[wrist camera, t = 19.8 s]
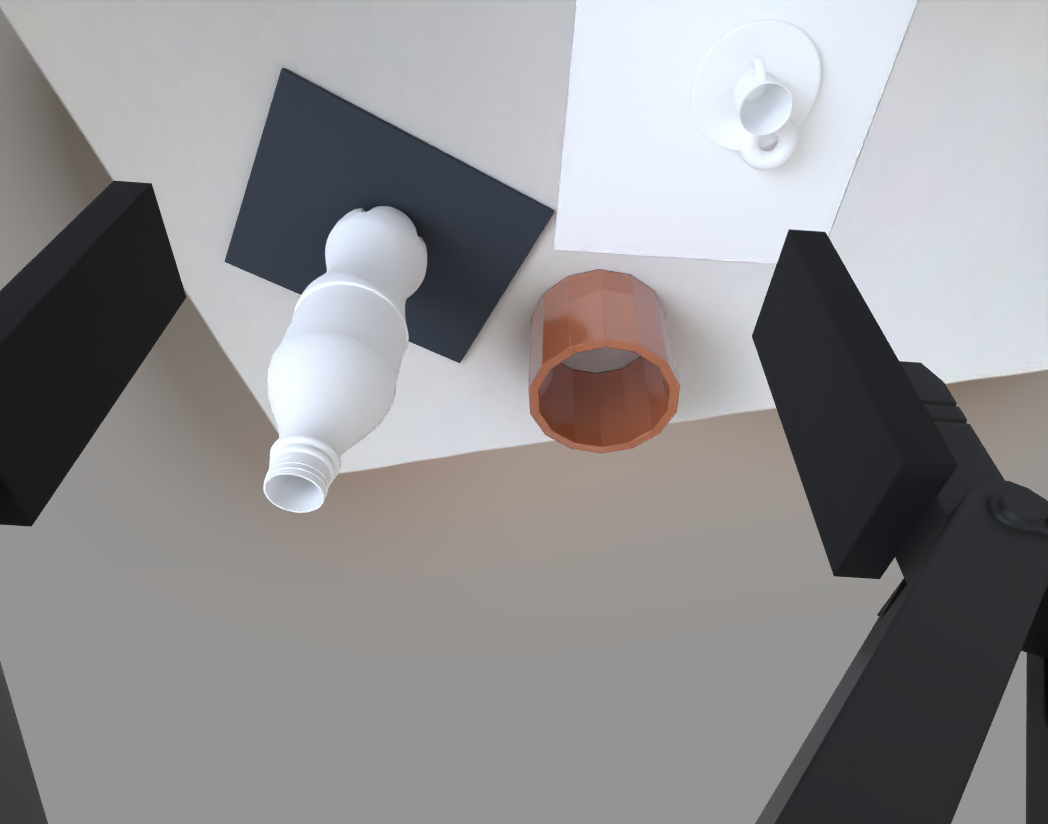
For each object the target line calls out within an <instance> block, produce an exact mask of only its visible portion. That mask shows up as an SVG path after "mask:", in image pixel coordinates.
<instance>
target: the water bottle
mask: <svg viewBox="0 0 1048 824" xmlns="http://www.w3.org/2000/svg"><path fill="white" fill-rule="evenodd" d="M325 259H326V267H327V272H326V273H325V274H324V275H322V276H320V277H319V278H317V279H316V280H314V281H313V282H312V283H310V284H309V285H308V287H307V288H306V289H305V290H304V292H303V293H302V295H301V296H300V298H299V300H298V302H297V305H296V307H295V310H294V316H293V319H292V321H291V323H290V325H289V327H288V329H287V331H286V334H285V336H284V338H283V340H282V342H281V344H280V345H279V347H278V348H277V349H276V351H275V352H274V354H273V356H272V359H271V362H270V365H269V371H268V380H267V385H268V394H269V400H270V404H271V407H272V411H273V414H274V417H275V420H276V423H277V426H278V429H279V439H278V440H277V441H276V442H275V443H274V444H273V446H272V448H271V451H270V462H269V464H270V468H269V471H268V473H267V475H266V478H265V481H264V490H263V491H264V493H265V495H266V497H267V499H269V500H270V501H271V502H272V503H273V504H274V505H276V506H278V507H280V508H282V509H284V510H287V511H292V512H296V513H300V512H301V513H302V512H310V511H313V510H316V509H318V508H319V507H320V506H322V505H323V501H324V499H325V497H326V495H327V492H328V488H329V485H330V484H331V483H332V481H333V480H334V478H335V477H336V476H337V475H338V473H339V471H340V468H341V460H340V457H341V455H342V454H343V453H344V452H345V451H346V450H348V449H349V448H351V447H352V446H354V445H355V444H356V443H358V442H359V441H361V440H362V439H363V438H364V437H366V436H367V435H368V434H370V433H371V432H372V431H373V430H374V429H375V428H376V427H377V426H378V425H379V424H380V423H381V422H382V421H383V419H384V418H385V417H386V415H387V413H388V412H389V410H390V408H391V405H392V403H393V401H394V397H395V394H396V381H397V377H398V373H399V369H400V365H401V361H402V357H403V355H404V353H405V351H406V349H407V346H408V342H409V335H408V330H407V325H406V319H405V302H406V299H407V298H408V297H410V296H411V295H412V294H413V293H414V292H415V291H416V290H417V289H418V288H419V286H420V285H421V283H422V282H423V279H424V277H425V274H426V268H427V249H426V245H425V243H424V241H423V239H422V237H420V236H418V235H417V232H416V228H415V226H414V224H413V223H412V221H411V220H410V219H409V217H408V216H407V215H406V214H404V213H403V212H401V211H400V210H398V209H395V208H393V207H390V206H377V207H375V208H373V209H371V210H370V211H367V212H365V211H364V209H363V208H360V209H354V210H352V211H351V212H349V213H347V214H346V215H345V216H344V217H343V218H342V219H340V220H339V221H338V222H337V224H336V225H335V226H334V228H333V229H332V231H331V232H330V234H329V236H328V239H327V242H326V248H325Z"/></svg>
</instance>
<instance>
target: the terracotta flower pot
mask: <svg viewBox="0 0 1048 824" xmlns="http://www.w3.org/2000/svg"><path fill="white" fill-rule="evenodd" d="M604 347H607V348H613V349H619V350H626V351H632V352H636V353H638V354H639V355H641V357H640V358H638V359H636V360H635V361H633V362H632V363H630V364H628V365H627V366H625V367H623V368H622V369H617V370H612V371H607V372H602V373H597V374H596V373H589V372H583V371H577V370H572V369H570V368H569V367H567V366H565V365H564V364H562V363H561V362H562V361H564V360H565V359H567V358H569V357H570V356H572V355H573V354H575V353H579V352H584V351H589V350H594V349H599V348H604ZM679 390H680V384H679V379H678V374H677V369H676V364H675V359H674V354H673V349H672V344H671V339H670V334H669V329H668V325H667V320H666V315H665V312H664V310H663V308H662V306H661V304H660V302H659V300H658V298H657V296H656V294H655V292H654V291H653V290H652V289H651V288H649V287H648V286H646V285H645V284H643V283H642V282H640V281H639V280H637V279H636V278H634V277H633V276H632V275H630V274H624V273H618V272H612V271H606V270H594V271H590V272H585V273H581V274H576V275H572V276H568V277H566V278H565V279H564V280H562V281H561V282H559V283H558V284H557V285H555V286H554V287H552V288H551V289H550V290H548V291H547V292H545V293H544V294H543V296H542V298H541V300H540V302H539V304H538V306H537V308H536V310H535V312H534V314H533V315H532V318H531V342H530V368H529V402H530V414H531V415H532V417H533V418H534V420H535V421H536V422H537V424H538V425H539V426H540V428H541V429H542V431H543V432H544V433H545V435H547V436H549V437H550V438H552V439H554V440H556V441H558V442H560V443H561V444H564V445H565V446H567V447H569V448H571V449H577V450H583V451H590V452H597V453H606V452H612V451H618V450H624V449H630V448H634V447H635V446H637V445H639V444H641V443H643V442H645V441H646V440H648V439H650V438H652V437H654V436H656V435H657V434H659V433H660V432H661V431H662V430H663V429H664V427H665V426H666V425H667V423H668V422H669V421H670V420H671V418H672V417H673V416H674V414H675V413H676V412H677V405H678V397H679Z"/></svg>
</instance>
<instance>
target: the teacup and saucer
mask: <svg viewBox="0 0 1048 824" xmlns="http://www.w3.org/2000/svg"><path fill="white" fill-rule="evenodd" d="M743 71H748V72H747V73H745V74H744V72H743ZM821 78H822V66H821V60H820V56H819V53H818V50H817V48H816V46H815V44H814V42H813V41H812V39H811V38H810V37H809V36H808V35H807V34H806V33H805V32H804V31H803V30H802V29H801V28H799V27H798V26H796V25H794V24H792V23H790V22H787V21H784V20H780V19H771V18H766V19H757V20H753V21H749V22H746V23H743V24H741V25H739V26H737V27H735V28H733V29H731V30H730V31H728V32H727V33H725V34H724V35H723V36H722V37H720V38H719V39H718V40H717V41H716V42H715V43H714V44H713V45H712V46H711V47H710V48H709V49H708V51H707V52H706V53H705V55H704V56H703V58H702V59H701V61H700V63H699V65H698V67H697V69H696V71H695V74H694V76H693V80H692V84H691V89H690V108H691V113H692V116H693V119H694V122H695V124H696V126H697V127H698V129H699V131H700V132H701V133H702V134H703V135H704V136H705V137H706V138H707V139H708V140H709V141H710V142H711V143H713V144H714V145H716V146H718V147H720V148H722V149H725V150H728V151H733V152H739V153H740V156H741V158H742V160H743V161H744V162H745V163H746V164H747V165H748V166H749V167H750V168H752V169H754V170H756V171H762V172H767V171H773V170H776V169H778V168H780V167H782V166H783V165H785V164H786V163H787V162H788V161H789V160H790V159H791V158H792V157H793V155H794V154H795V152H796V150H797V148H798V144H799V130H798V126H799V125H800V124H801V123H802V122H803V121H804V120H805V118H806V117H807V115H808V114H809V112H810V111H811V109H812V107H813V105H814V103H815V101H816V99H817V96H818V93H819V90H820V85H821ZM774 144H776V145H775V147H774V148H772V149H771V150H764V149H765V148H767V147H770V146H772V145H774Z"/></svg>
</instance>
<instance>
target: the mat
mask: <svg viewBox="0 0 1048 824" xmlns="http://www.w3.org/2000/svg"><path fill="white" fill-rule="evenodd" d="M377 206H390V207H393V208H395V209H398V210H400V211H401V212H403V213H404V214H406V215H407V216H408V217H409V219H410V220H411V221H412V223H413V224H414V226H415V228H416V232H417V235H418V236H420V237H422V239H423V241H424V243H425V245H426V249H427V268H426V274H425V277H424V279H423V282H422V283H421V285H420V286H419V288H418V289H417V290H416V291H415V292H414V293H413V294H412V295H411V296H410V297H408V298H407V299H406V302H405V319H406V325H407V330H408V335H409V341H410V342H412V343H414V344H416V345H419V346H421V347H423V348H426V349H428V350H430V351H433V352H435V353H437V354H440V355H442V356H444V357H447V358H449V359H451V360H454V361H456V362H458V363H460V362H461V360H462V359H463V357H464V356H465V354H466V352H467V351H468V349H469V348H470V346H471V344H472V343H473V341H474V340H475V338H476V336H477V335H478V333H479V332H480V330H481V328H482V327H483V325H484V324H485V322H486V320H487V319H488V317H489V316H490V314H491V312H492V311H493V309H494V308H495V306H496V304H497V303H498V301H499V299H500V298H501V296H502V295H503V293H504V291H505V290H506V288H507V287H508V285H509V283H510V282H511V280H512V279H513V277H514V275H515V274H516V272H517V271H518V269H519V267H520V266H521V264H522V263H523V261H524V259H525V258H526V256H527V255H528V253H529V251H530V250H531V248H532V247H533V245H534V243H535V242H536V240H537V239H538V237H539V235H540V234H541V232H542V231H543V229H544V227H545V226H546V224H547V223H548V221H549V219H550V218H551V216H552V215H553V213H554V210H552V209H551V208H549V207H547V206H545V205H543V204H541V203H539V202H537V201H535V200H533V199H532V198H530V197H528V196H526V195H524V194H522V193H520V192H518V191H516V190H514V189H513V188H511V187H509V186H507V185H505V184H503V183H501V182H499V181H497V180H495V179H494V178H492V177H490V176H488V175H486V174H484V173H482V172H480V171H478V170H476V169H475V168H473V167H471V166H469V165H467V164H465V163H463V162H461V161H459V160H457V159H456V158H454V157H452V156H450V155H448V154H446V153H444V152H442V151H440V150H438V149H437V148H435V147H433V146H431V145H429V144H427V143H425V142H423V141H421V140H420V139H418V138H416V137H414V136H412V135H410V134H408V133H406V132H404V131H402V130H401V129H399V128H397V127H395V126H393V125H391V124H389V123H387V122H385V121H383V120H382V119H380V118H378V117H376V116H374V115H372V114H370V113H368V112H366V111H364V110H363V109H361V108H359V107H357V106H355V105H353V104H351V103H349V102H347V101H345V100H344V99H342V98H340V97H338V96H336V95H334V94H332V93H330V92H328V91H326V90H325V89H323V88H321V87H319V86H317V85H315V84H313V83H311V82H309V81H307V80H306V79H304V78H302V77H300V76H298V75H296V74H294V73H292V72H290V71H288V70H287V69H285V68H283V69H282V70H281V73H280V76H279V80H278V83H277V87H276V90H275V93H274V97H273V100H272V103H271V107H270V110H269V114H268V117H267V120H266V124H265V127H264V131H263V134H262V137H261V141H260V144H259V147H258V151H257V154H256V158H255V161H254V164H253V168H252V171H251V175H250V178H249V181H248V185H247V188H246V192H245V195H244V198H243V202H242V205H241V208H240V212H239V215H238V219H237V222H236V225H235V229H234V232H233V236H232V239H231V242H230V246H229V249H228V252H227V256H226V259H225V262H227V263H229V264H231V265H233V266H236V267H238V268H240V269H243V270H245V271H247V272H250V273H252V274H254V275H257V276H259V277H261V278H264V279H266V280H268V281H271V282H273V283H275V284H277V285H280V286H282V287H284V288H287V289H289V290H291V291H294V292H296V293H298V294H301V295H302V293H303V292H304V290H305V289H306V288H307V287H308V285H309V284H310V283H312V282H313V281H314V280H316V279H317V278H319V277H320V276H322V275H324V274H325V273H326V272H327V267H326V259H325V248H326V242H327V239H328V236H329V234H330V232H331V231H332V229H333V228H334V226H335V225H336V224H337V222H338V221H339V220H340V219H342V218H343V217H344V216H345V215H346V214H347V213H349V212H351V211H352V210H354V209H360V208H363V209H364V211H365V212H367V211H370V210H371V209H373V208H375V207H377Z"/></svg>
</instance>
